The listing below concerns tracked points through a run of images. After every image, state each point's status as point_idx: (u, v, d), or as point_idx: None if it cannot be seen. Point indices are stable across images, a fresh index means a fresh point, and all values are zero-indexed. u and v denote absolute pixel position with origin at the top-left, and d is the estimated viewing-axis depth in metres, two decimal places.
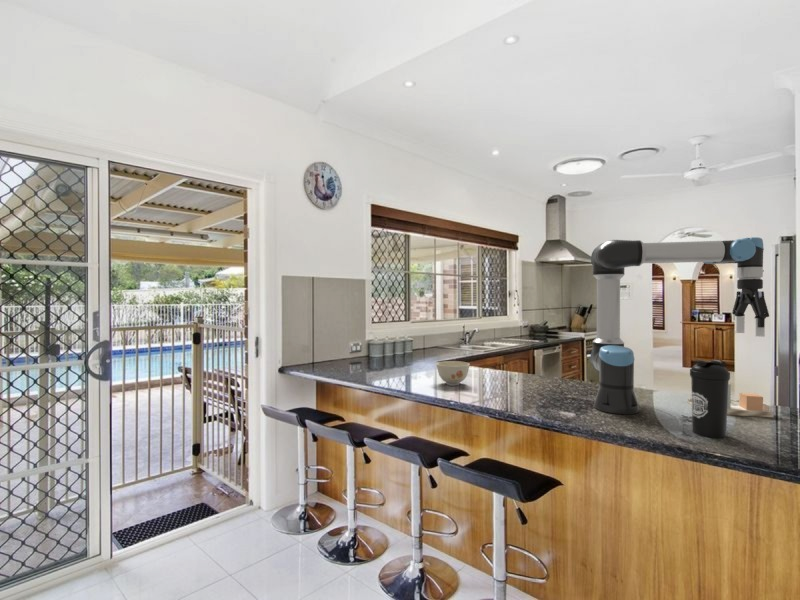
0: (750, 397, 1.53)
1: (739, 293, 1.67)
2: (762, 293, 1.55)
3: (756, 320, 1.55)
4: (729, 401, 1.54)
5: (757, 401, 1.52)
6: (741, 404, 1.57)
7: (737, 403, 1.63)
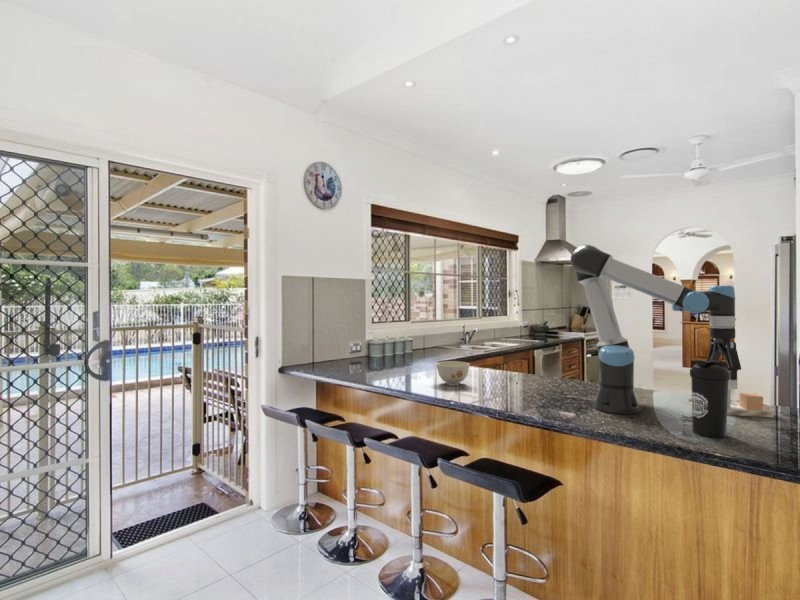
0: (750, 397, 1.53)
1: (712, 340, 1.62)
2: (734, 344, 1.50)
3: None
4: (729, 401, 1.54)
5: (757, 401, 1.52)
6: (741, 404, 1.57)
7: (737, 403, 1.63)
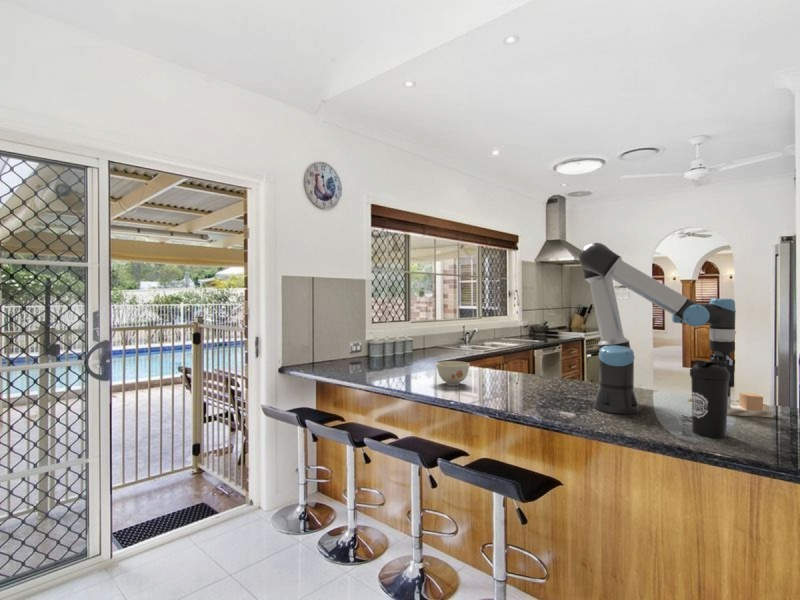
0: (750, 397, 1.53)
1: (712, 356, 1.62)
2: (733, 362, 1.50)
3: None
4: None
5: (757, 401, 1.52)
6: (741, 404, 1.57)
7: (737, 403, 1.63)
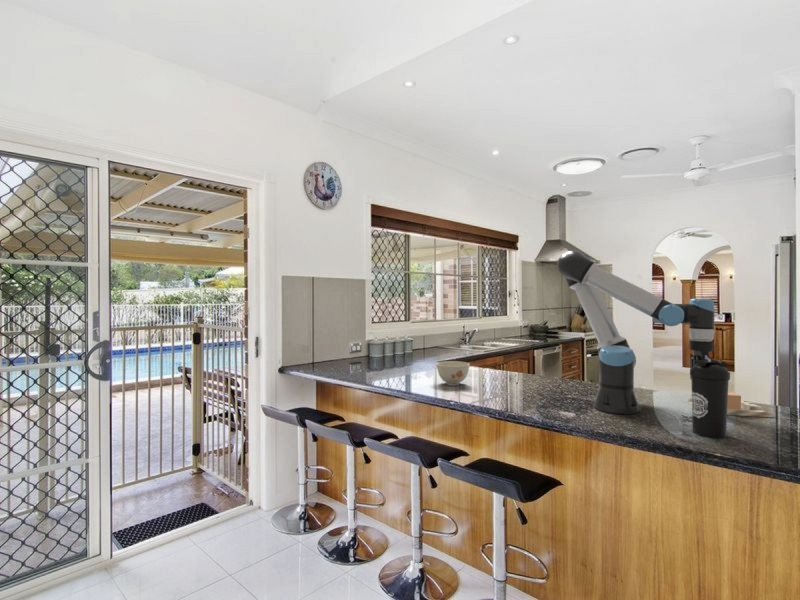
0: (728, 396, 1.54)
1: (692, 355, 1.64)
2: None
3: None
4: None
5: (735, 400, 1.54)
6: None
7: None
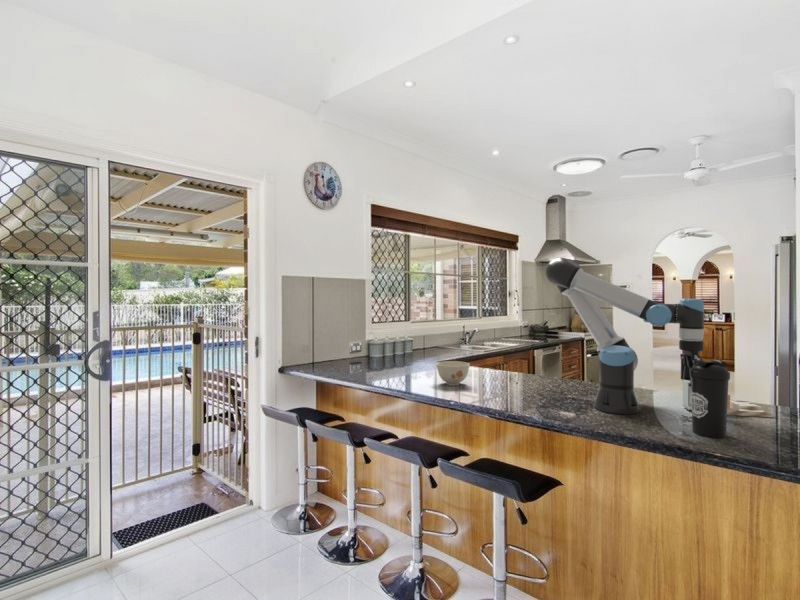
0: None
1: (682, 355, 1.65)
2: None
3: (690, 387, 1.57)
4: None
5: None
6: None
7: None
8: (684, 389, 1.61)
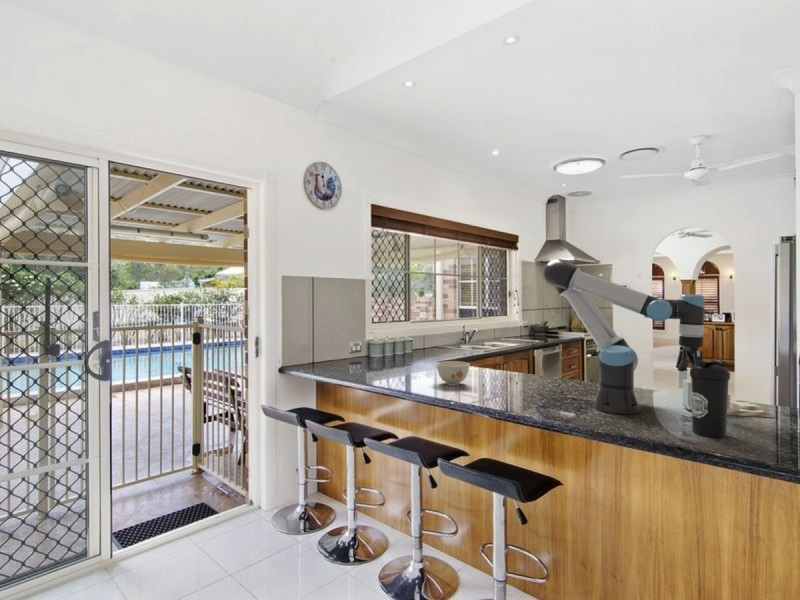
0: None
1: (682, 348, 1.65)
2: (700, 353, 1.53)
3: None
4: None
5: None
6: None
7: None
8: (684, 389, 1.61)
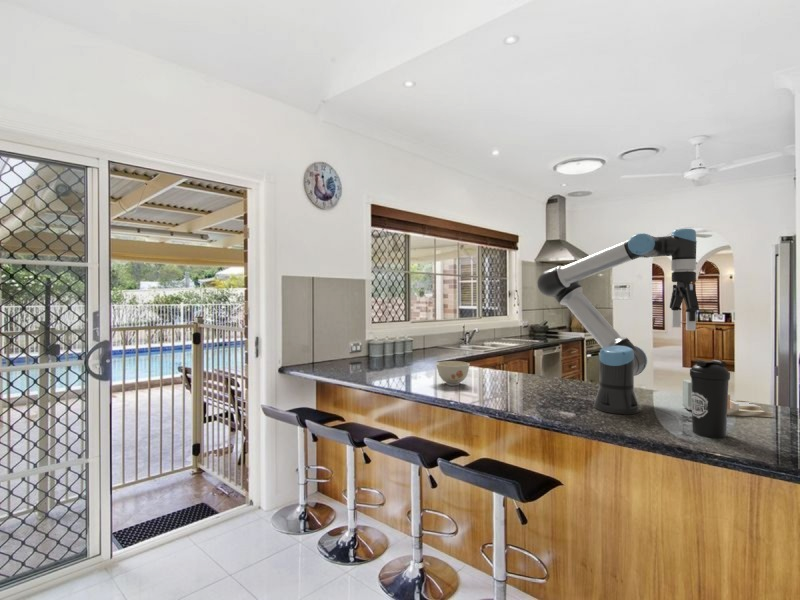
0: None
1: (675, 286, 1.62)
2: (693, 286, 1.50)
3: (687, 314, 1.50)
4: None
5: None
6: None
7: None
8: (684, 389, 1.61)
